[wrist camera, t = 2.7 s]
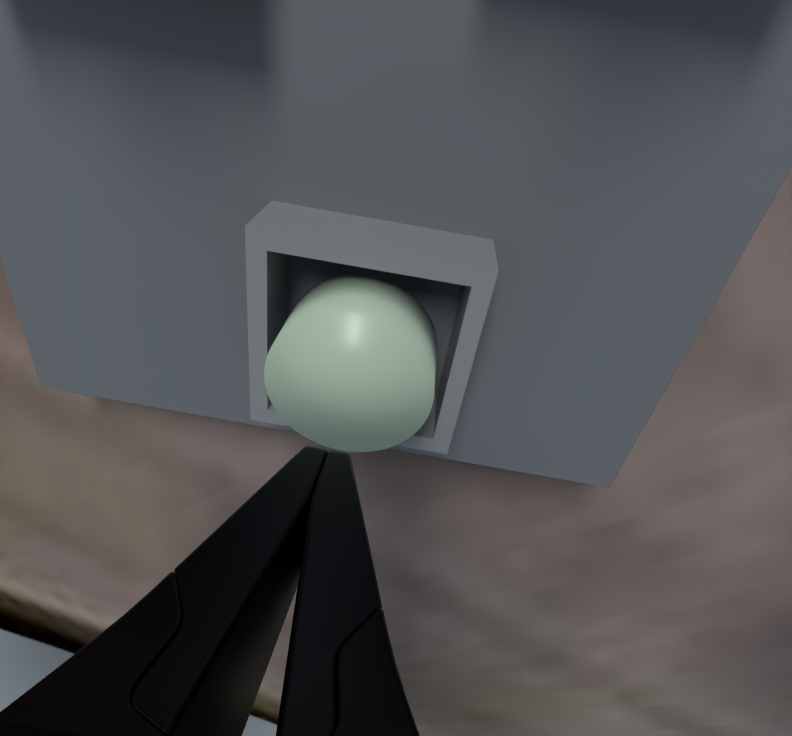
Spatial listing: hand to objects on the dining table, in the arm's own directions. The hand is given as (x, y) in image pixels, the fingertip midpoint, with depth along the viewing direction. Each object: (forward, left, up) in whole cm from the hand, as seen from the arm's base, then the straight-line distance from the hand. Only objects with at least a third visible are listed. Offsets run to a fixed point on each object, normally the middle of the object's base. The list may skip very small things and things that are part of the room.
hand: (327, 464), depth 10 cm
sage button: (0, 0, -4) cm, 4 cm away
